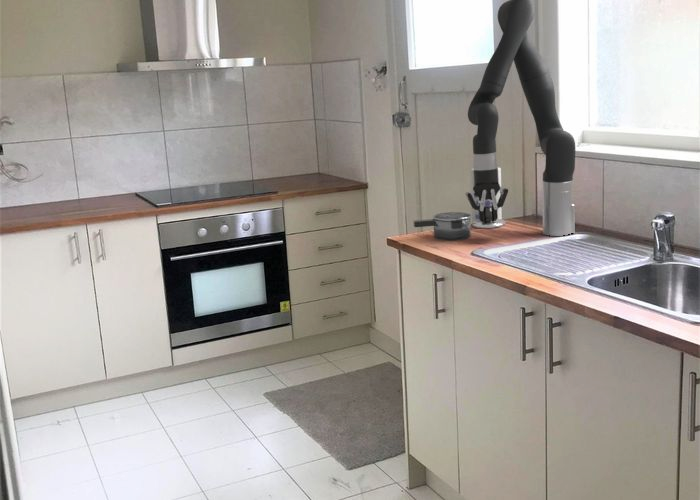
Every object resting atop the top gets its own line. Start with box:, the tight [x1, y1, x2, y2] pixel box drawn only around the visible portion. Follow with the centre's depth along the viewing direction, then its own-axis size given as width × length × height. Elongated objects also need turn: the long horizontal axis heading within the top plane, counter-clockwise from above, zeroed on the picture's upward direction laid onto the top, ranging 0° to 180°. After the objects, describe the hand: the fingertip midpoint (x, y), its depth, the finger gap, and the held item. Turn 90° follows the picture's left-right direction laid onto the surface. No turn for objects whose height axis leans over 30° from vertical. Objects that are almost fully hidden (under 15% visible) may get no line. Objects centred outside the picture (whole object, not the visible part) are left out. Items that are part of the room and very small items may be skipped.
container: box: [470, 166, 503, 222], centre depth 268 cm, size 10×10×20 cm
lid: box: [471, 206, 506, 229], centre depth 246 cm, size 10×10×6 cm
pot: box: [413, 211, 472, 242], centre depth 254 cm, size 19×14×7 cm
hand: (488, 221), depth 246 cm, fingers closed on lid, 3 cm apart
